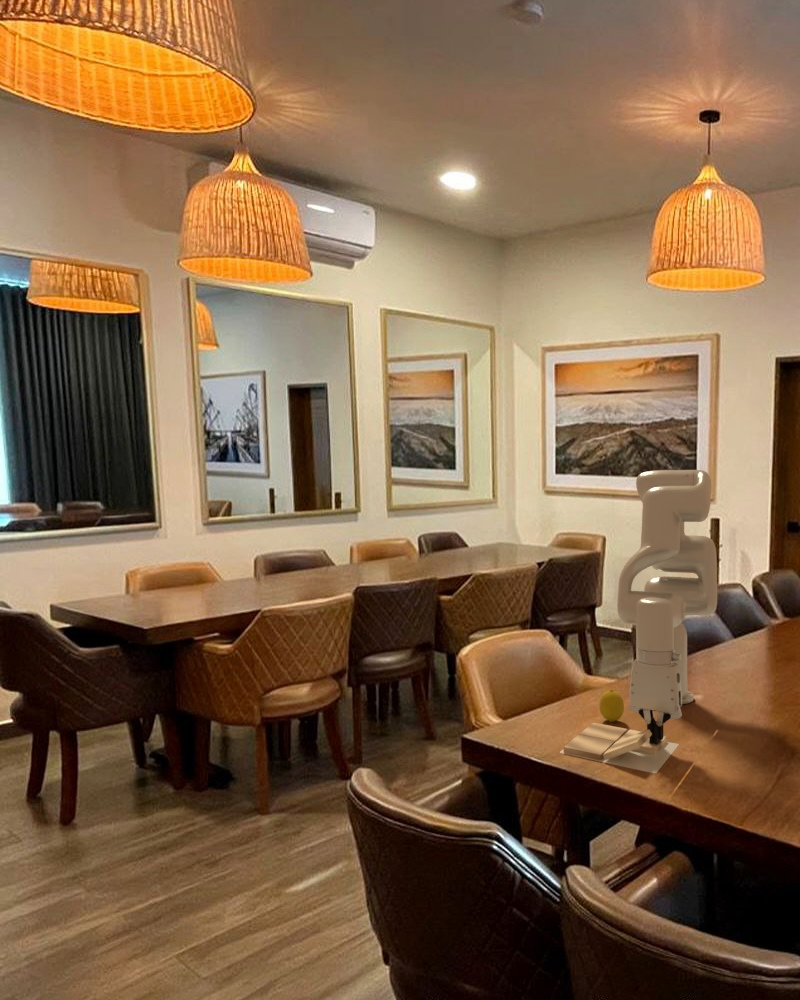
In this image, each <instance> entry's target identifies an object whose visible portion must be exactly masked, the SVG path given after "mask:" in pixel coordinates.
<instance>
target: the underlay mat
mask: <svg viewBox="0 0 800 1000" xmlns="http://www.w3.org/2000/svg"><path fill="white" fill-rule="evenodd" d="M679 746H680V744H679V743H676V742H675V743H674V742H669V741H667V742H666V743H665V744H664V745H663V746H662V748H661V749H660V750H659V751H658V752H657V753H656V755H655V754H650V753H645V752H640V751H635V750H632V751H629V752H627V753H624V754H621V755H618V756H616V757H613V758H610V759H607V760H605V758H603V759H602V760H601V761H600V760H596V759H591V758H587V757H582V756H577V755H573V754H568V753H564V748H562V749H561V750H560V752H559V754H561V755H562V754H563V755H567V756H573V757H578V758H581V759H586V760H591V761H596V762H601V763H604V764H609V765H613V766H618V767H623V768H628V769H632V770H636V771H642V772H644V773H645V772H647V773H650V774H654V775H655V774H657V773H658V772H659V770H660V769H662V767H663V765H664V764H665V763H666V762H667V760H668V759H669V758H670V757H671V755H673V753H674V752H675V750H676V749H677V748H678V747H679Z"/></svg>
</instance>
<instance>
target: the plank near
mask: <svg viewBox="0 0 800 1000" xmlns="http://www.w3.org/2000/svg"><path fill="white" fill-rule="evenodd" d="M651 735H652V733H651V731H650V730H649V729H648V730H647V729H646V730H643V731H641V732H640V733H637V734H635V735H632V736H629V737H627V738H624V739H621V740H619V741H616V742H615V743H614V744H613V745H612V746H611V747H610V748H609V749H608V750H607V751H606V752H605V753H604V754H603V756H604V758H605V760H607V759H610V758H613V757H616V756H618V755H621V754H624V753H627V752H629V751H632V750H635V749H638V748H640V747H641V746H642V745H643V744H644V743H645V742H646V741H647V739H648V738H649V737H650V736H651Z"/></svg>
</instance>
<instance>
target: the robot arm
mask: <svg viewBox="0 0 800 1000" xmlns="http://www.w3.org/2000/svg"><path fill="white" fill-rule="evenodd" d="M635 481H636V482H635V486H636V490H637V493H638V496H639V499H640V501H641V503H642V509H641V510H642V512H641V513H642V514H641V516H642V517H641V536H640V547H639V549H638V550H637V551H636V552H635V553H634V554H632V556H631V557H630V558H629V559H628V561H627V562H626V563H625V565H623V568H622V569H621V573H620V576H619V577H618V578H619V580H618V588H617V600H616V601H617V609H616V610H617V615H618V616H617V617H618V618H619V619H620V621H621V622H622V623H624V624H628V625H634V626H635V628H636V631H635V633H636V634H635V635H636V637H635V639H636V640H635V645H636V646H635V649H636V656H635V657H636V658H635V659H634V660H633V662H632V668H631V673H630V682H629V691H628V692H629V706H628V707H629V709H628V710H630V711H631V712H633V713H636V714H638V715H640V717H641V718H642V719H643V720H644V723H645V724H646V727H647V728H646V730H648V729H649V730H650V731H651V733H652V735H651V736H650V737H649V742H650V743H655V744H658V743H659V742H660V741H661V740H662V739H663V736H664V724H665V723H667V722H668V721H669V720H677V719H681V718H682V717H683V714H682V709H681V708H682V706H683V705H685V704H690V703H692V702H693V701H694V698H695V697H694V696H695V695H694V694H693V693H692V692H691V691H689V690H688V633H687V629H686V627H685V625H684V624H683V623H682V622H683V621H684V620H685V619H686V616H687V615H688V616H704V617H705V616H706V617H707V616H711V615H713V614H714V613H716V610H717V606H718V560H717V556H718V555H717V549H716V544H715V542H714V541H713V539H712V538H711V537H708V536H705V535H686V534H685V533H686V532H685V522H686V523H699V522H704V521H706V520H707V518H708V516H709V514H710V508H711V500H712V499H711V497H712V480H711V477H710V475H709V473H708V472H707V471H705V470H703V469H658V470H648V471H644V472H641V473H640V474H638V476H637V477H636V480H635ZM649 567H652V568H653V569H654V570H656V571H658V572H665V573H682V574H683V573H684V574H685V573H686V574H691V573H692V574H695V575H696V576H697V577H686V576H685V577H681V576H655V577H652V578H650V579H648V580H647V581H646V582H645V585H644V588H643V591H642V590H632V585H633V582H634V579H635V578H636V576H638V575H639V573H642V571H644V570H646V569H647V568H649ZM654 712H657V717H656V719H655V714H654Z"/></svg>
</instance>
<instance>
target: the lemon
mask: <svg viewBox="0 0 800 1000" xmlns="http://www.w3.org/2000/svg"><path fill="white" fill-rule="evenodd" d="M624 704H625V703H624V700H623V697H622V696H621V695H620V693H618V692H617V691H615V690H614V689H612V688H611V689H609V690H607V691H604V692H603V694H601V696H600V700H599V711H600V714H601V716H602V717H603V718H604V719H605V720H607V721H609V723H614V722H616V721H618V720H620V719H621V718H622V717H623V714H624V710H625V705H624Z"/></svg>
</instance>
